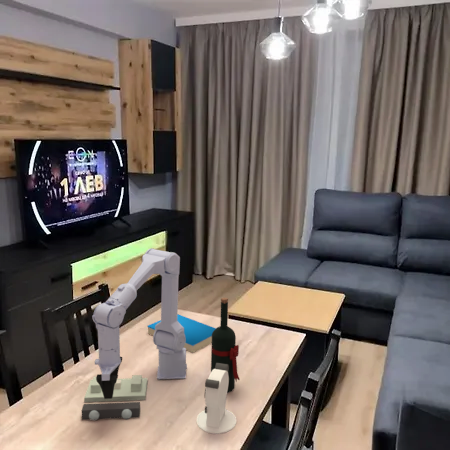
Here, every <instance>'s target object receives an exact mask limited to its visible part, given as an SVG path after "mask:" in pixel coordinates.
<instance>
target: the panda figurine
mask: <svg viewBox="0 0 450 450" xmlns="http://www.w3.org/2000/svg"><path fill="white" fill-rule="evenodd" d="M228 370H229V365H227V364H221V363H216V365H215V369H213V370H212V372H211V371H210V372H209V376H208V378H206V380H205V382H204V386H205V389H204V403H205V407H204V410H202V411H200V412H199V413H198V414H197V416H196V420H195V421H196V424H197V428H199V429H200V430H201V431H203V432H205V433H208V434H214V435H222V434H226V433H228V432H230V431H232V430H233V429H234V428H235V426H236V425H237V417H236V415H235V414H234V413H233V412H232V411H230V410H228V409H226V405H227V394H228V393H227V391H228V384H229V376H228Z"/></svg>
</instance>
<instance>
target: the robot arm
mask: <svg viewBox="0 0 450 450" xmlns="http://www.w3.org/2000/svg"><path fill="white" fill-rule="evenodd" d="M180 262H181V257H180V255H178V254H177V253H176V252H172V251H170V252H169V251H165V250H159V249H155V248H152V247H151V248H148V249H147V250H146V251H145V253H144V254H143V255H142V257H141V264H140V265H139V266H138V268H137V269H136V271H135V272H134V273H133V275H132V276H131V277H130V279H129V280H128V282H126V283H121V284H119V286H117V288H116V290H115V291H114V292H113V293H112V294H111V295H110V296H109V297H108V299H107V300H106V301H105V302H103V303H100V304H98V305H97V306H96V307H95V309H94V310H93V311H94V312H93V315H92V316H91V317H92V320H93V322H94V323H95V328H96V330H97V340H98V341H97V344H98V358H96V359H95V361H94V365H96V366H97V365H98V366H99V369H100V372H101V374H100V373H99V374H97V375H96V376H95V377H96V381H97V382H98V384H99V385H100V387H101V389H102V392H103V396H104V399H112V397H113V392H114V385H115V383H116V381H117V379H119V368H120V367H121V364H122V362H123V357H122V356H121V349H120V348H121V347H120V346H121V343H120V325H121V324H122V323H123V321H124V317H125V314H126V313H127V311H126V310H127V309H128V308H129V307H130V306H131V304H132V303H133V302H134V301H135V299H136V298H137V296H138V295H137V294H138V293H137V291H138V289H140V288H141V287H142V286H143V285H144V284H145V283H146V282H147V280H149V279H150V278H151V277H152V275H160V276H161V307H160V308H161V309H160V310H161V311H160V320H161V322H159V323H158V324H157V325H156V326H155V332H154V335H152V342H153V344H154V345H155V346H156V349H157V350H158V366H157V374H156V379H157V380H178V379H182V380H183V379H187V370H188V363H187V350H186V348H183V347H184V345H185V342H186V338H185V334H184V328H183V326H182V325H181V324H180V323H179V322H178V321H177V314H178V309H179V307H178V305H179V304H178V303H179V302H178V301H179V277H180V276H179V275H180V268H181V267H180V266H181V265H180V264H181V263H180Z"/></svg>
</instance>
